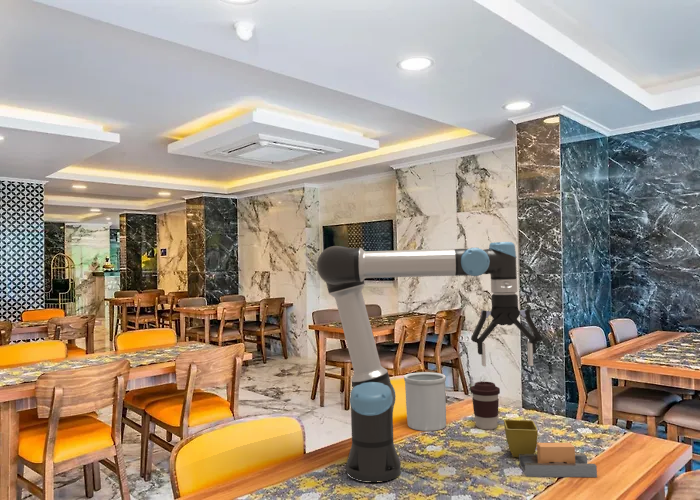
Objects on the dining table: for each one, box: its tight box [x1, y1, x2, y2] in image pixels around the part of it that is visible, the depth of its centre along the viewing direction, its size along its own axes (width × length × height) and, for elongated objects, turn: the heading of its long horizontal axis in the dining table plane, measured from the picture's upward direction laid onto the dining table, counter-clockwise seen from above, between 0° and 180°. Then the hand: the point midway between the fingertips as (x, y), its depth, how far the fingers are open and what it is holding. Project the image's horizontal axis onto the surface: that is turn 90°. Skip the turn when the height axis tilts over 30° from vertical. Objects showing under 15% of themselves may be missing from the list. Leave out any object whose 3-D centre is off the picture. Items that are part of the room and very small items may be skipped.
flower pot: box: [503, 419, 539, 458], centre depth 147 cm, size 9×9×9 cm
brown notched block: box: [536, 442, 576, 463], centre depth 135 cm, size 9×3×7 cm, turn 85°
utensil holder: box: [403, 371, 447, 432], centre depth 177 cm, size 15×15×18 cm
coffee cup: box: [470, 381, 501, 430], centre depth 173 cm, size 10×10×15 cm
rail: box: [518, 453, 598, 478], centre depth 135 cm, size 18×8×3 cm, turn 85°
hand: (507, 365), depth 147 cm, fingers open, 13 cm apart
